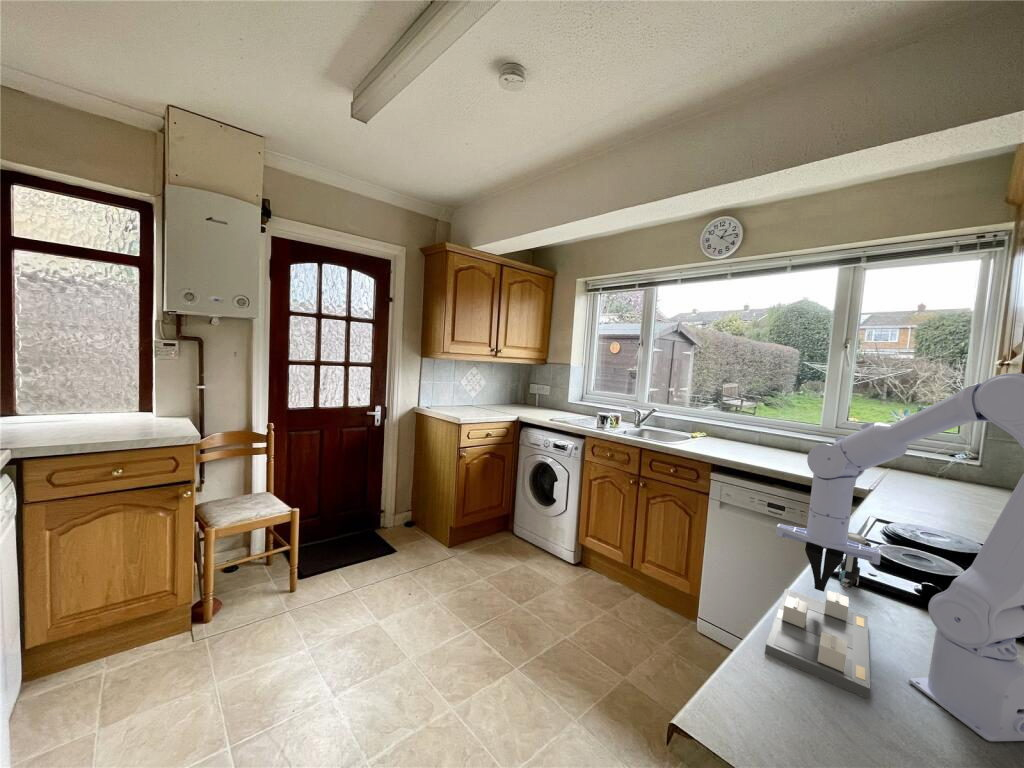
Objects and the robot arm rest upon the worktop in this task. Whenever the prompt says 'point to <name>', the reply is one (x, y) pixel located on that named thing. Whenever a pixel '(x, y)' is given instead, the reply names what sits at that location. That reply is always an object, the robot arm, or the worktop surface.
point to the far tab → (837, 605)
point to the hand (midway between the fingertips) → (819, 588)
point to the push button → (852, 563)
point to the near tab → (832, 651)
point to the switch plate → (804, 644)
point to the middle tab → (795, 611)
